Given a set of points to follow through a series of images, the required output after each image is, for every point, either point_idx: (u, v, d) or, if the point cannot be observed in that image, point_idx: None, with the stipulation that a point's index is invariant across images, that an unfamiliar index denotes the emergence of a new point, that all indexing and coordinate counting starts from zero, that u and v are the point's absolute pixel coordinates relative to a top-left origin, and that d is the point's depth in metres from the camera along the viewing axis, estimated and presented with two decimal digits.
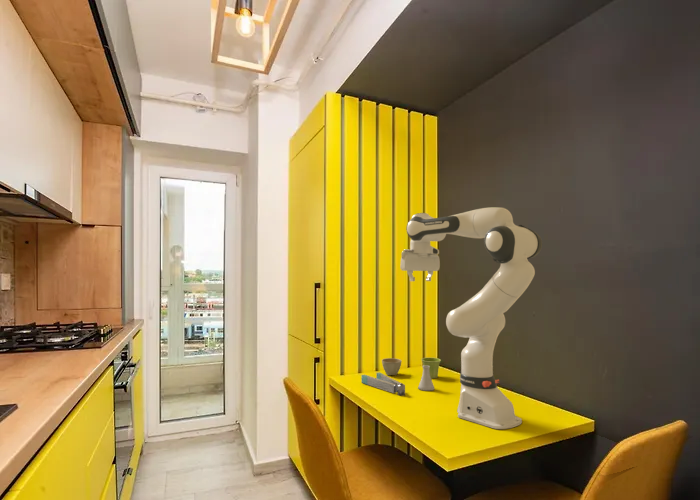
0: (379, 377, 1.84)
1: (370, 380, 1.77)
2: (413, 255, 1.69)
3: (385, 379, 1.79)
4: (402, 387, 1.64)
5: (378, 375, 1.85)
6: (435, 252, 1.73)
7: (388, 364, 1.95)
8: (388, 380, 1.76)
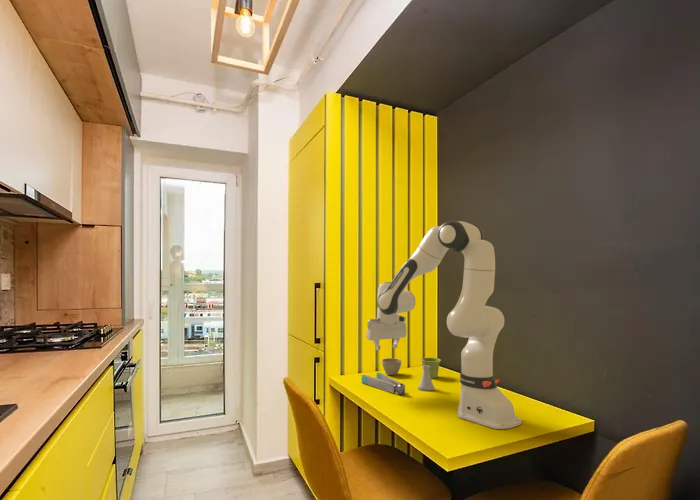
0: (379, 377, 1.84)
1: (370, 380, 1.77)
2: (379, 325, 1.71)
3: (385, 379, 1.79)
4: (402, 387, 1.64)
5: (378, 375, 1.85)
6: (401, 320, 1.76)
7: (388, 364, 1.95)
8: (388, 380, 1.76)
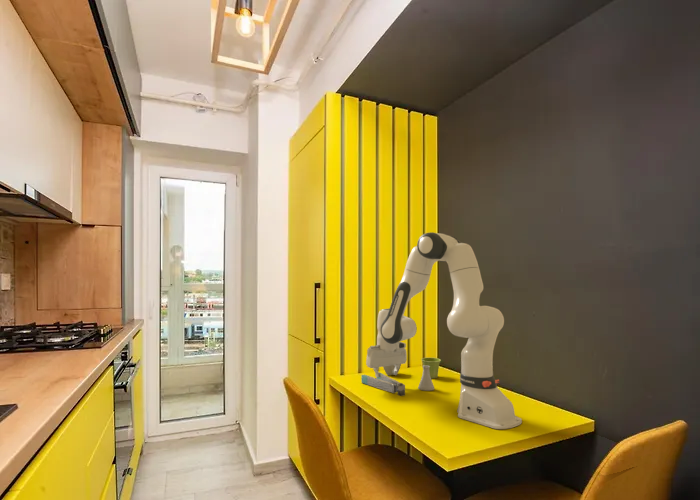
0: (379, 377, 1.84)
1: (370, 380, 1.77)
2: (379, 352, 1.71)
3: (385, 379, 1.79)
4: (402, 387, 1.64)
5: None
6: (401, 346, 1.75)
7: None
8: (388, 380, 1.76)
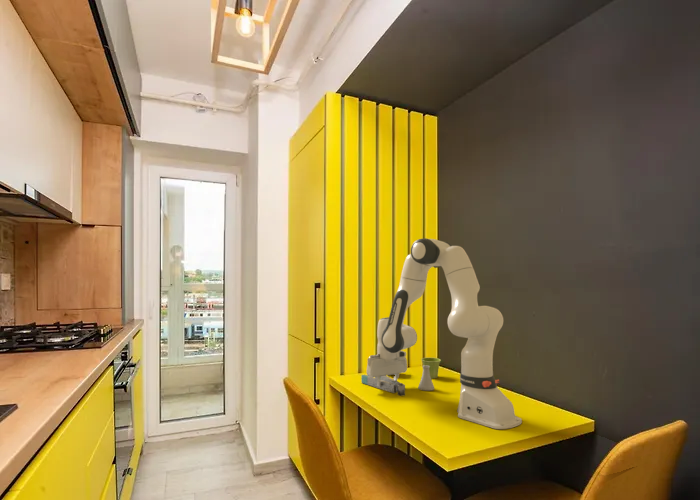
0: None
1: (370, 380, 1.77)
2: (379, 361, 1.70)
3: (385, 379, 1.79)
4: (402, 387, 1.64)
5: None
6: (402, 355, 1.75)
7: None
8: (388, 380, 1.76)
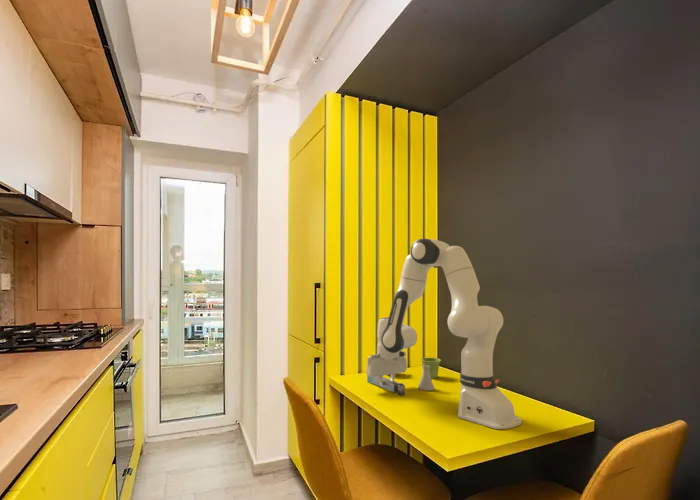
0: None
1: (374, 379, 1.79)
2: (379, 361, 1.70)
3: None
4: (402, 387, 1.64)
5: None
6: (402, 355, 1.75)
7: None
8: None
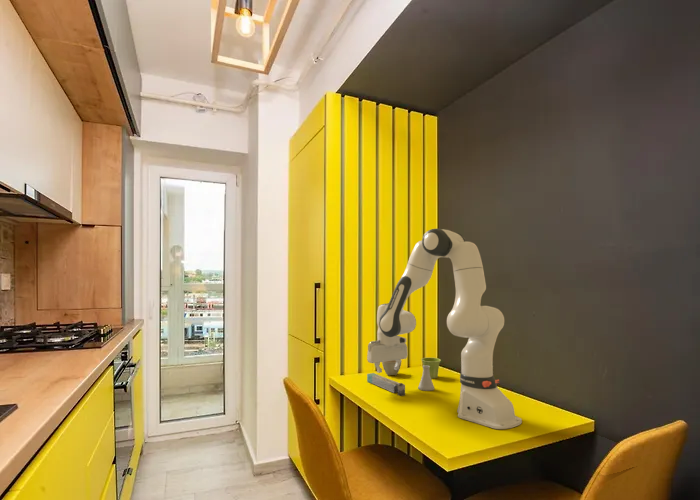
0: None
1: (374, 379, 1.79)
2: (379, 347, 1.70)
3: None
4: (402, 387, 1.64)
5: None
6: (402, 341, 1.75)
7: (388, 364, 1.95)
8: None
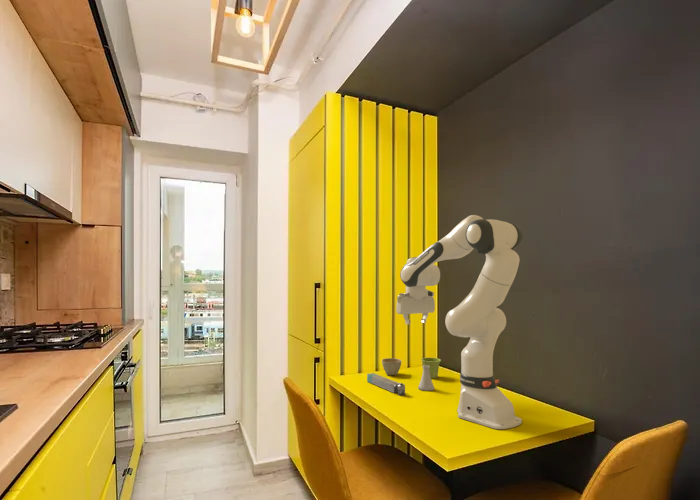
0: None
1: (374, 379, 1.79)
2: (408, 299, 1.73)
3: None
4: (402, 387, 1.64)
5: None
6: (430, 295, 1.78)
7: (388, 364, 1.95)
8: None
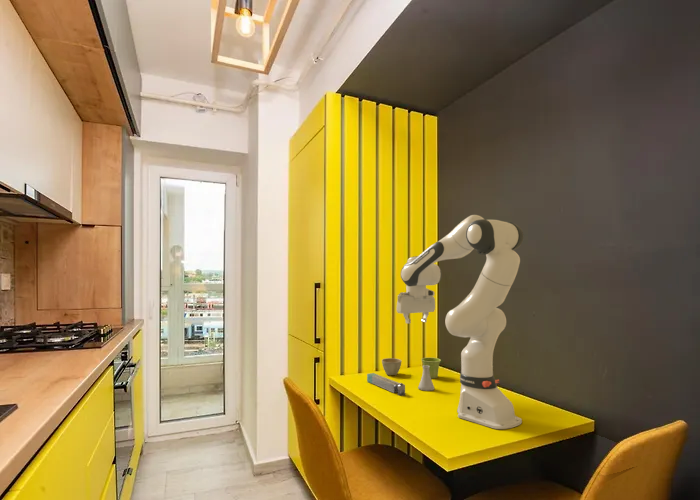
0: None
1: (374, 379, 1.79)
2: (409, 298, 1.73)
3: None
4: (402, 387, 1.64)
5: None
6: (430, 294, 1.78)
7: (388, 364, 1.95)
8: None
